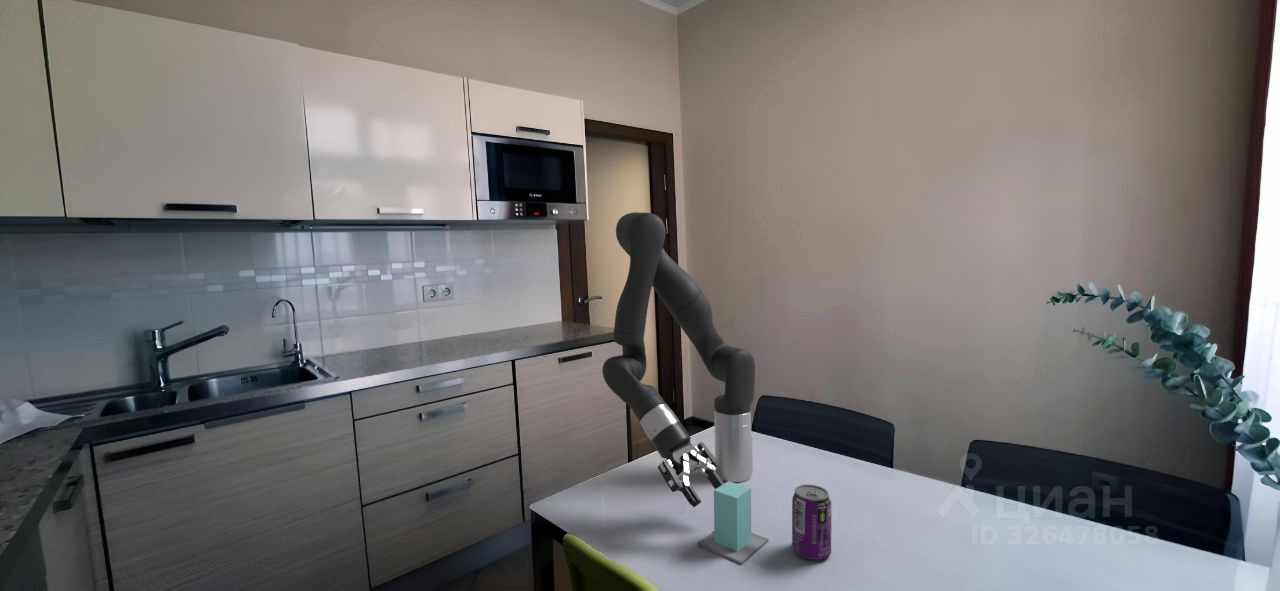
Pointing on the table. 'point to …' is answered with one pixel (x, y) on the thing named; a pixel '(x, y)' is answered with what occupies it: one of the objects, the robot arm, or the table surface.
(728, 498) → the tall teal block
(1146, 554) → the table surface
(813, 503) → the beverage can
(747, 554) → the post
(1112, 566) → the table surface
